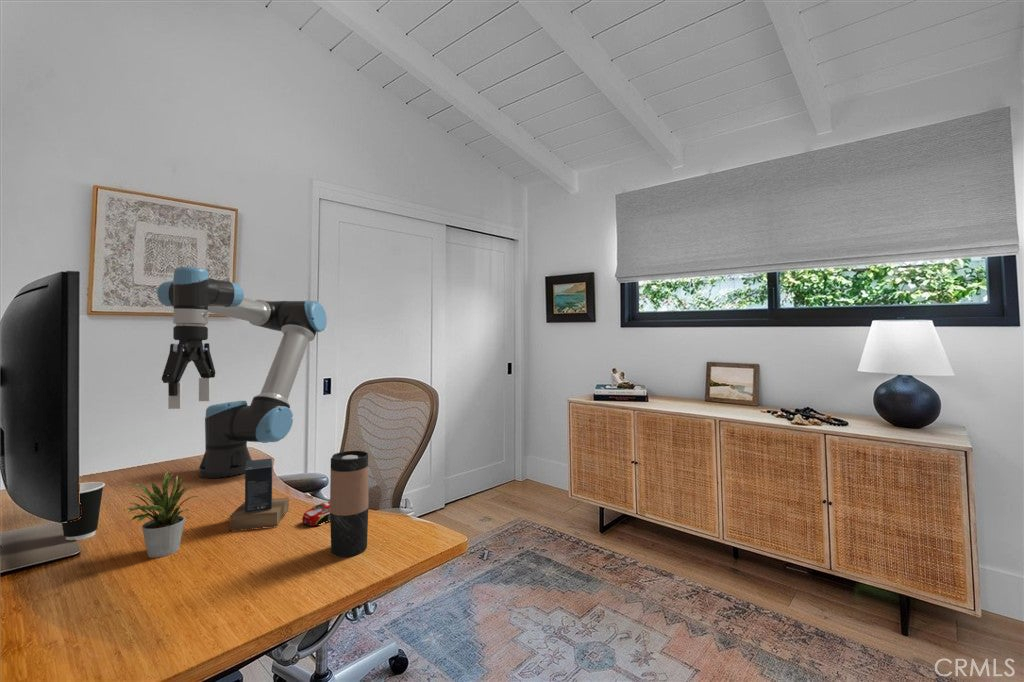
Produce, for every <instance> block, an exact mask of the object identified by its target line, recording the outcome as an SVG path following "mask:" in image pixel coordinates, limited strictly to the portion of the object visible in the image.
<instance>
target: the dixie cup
mask: <svg viewBox="0 0 1024 682" xmlns="http://www.w3.org/2000/svg"><path fill="white" fill-rule="evenodd" d="M79 484H80V492H79V493H80V503H81V506H82V515H81V518H80V519H79V520H76V521H72V522H67V523H62V522H61V526H62V533H63V536H64V538H65V537H74V538H75V539H76V540H77V541H82V540H85V539H88V538H91V537H93V536H94V535H96V532H97V530H98V525H99V518H100V511H101V503H102V496H103V489H104V487H105V485H106V483H104V482H101V481H90V482H81V483H79Z"/></svg>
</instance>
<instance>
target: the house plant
mask: <svg viewBox="0 0 1024 682" xmlns="http://www.w3.org/2000/svg"><path fill="white" fill-rule="evenodd" d="M173 475H174V473H172V474H170V475H169V472H168V471H166V472H165V474H164V476H163V480H162V484H161V485H162V487H161V489H160V488H159V487H158V485H157V484H156V483H155V482H154V481H152V482H151V486H152V487H151V488H152V492H151V491H150V490H149V489H148V488H147V487H145V486H143V485H142V484H139V483H137V482H136V483H135V482H131V484H133V485H136V486H137V487H139V488H140V489H141V490H142V491H143V492H144V494H146V496H147V497H146V496H144V495H142V494H139V493H135V492H132V495H133V494H136V495H135V497H136V498H137V499H138V498H139V499H140V500H141V501H143V502H144V503H145V504H144V505H141V504H138V503H136V502H135V503H134V502H130V504H131V505H134V506H131V507H129V508H126V509H124V510H128V512H127V515H129V514H130V515H131V512H132V511H136V510H141V512H143V513H144V514H143V513H140V512H138V514H136V515H135V516H133V517H132V518H131V519H130V521H129V522H130V523H131V522H132V521H134V520H136V519H138V520H137V523H136V524H138V523H140V522H141V521H143V520H144V519H146V518H147V519H149V521H147V522H145V523H144V524H142V526H141V529H142V535H143V538H144V543H145V548H146V552H147V556H148V557H149V558H152V559H153V558H154V559H157V558H163V557H167V556H170V555H172V554H175V553H176V552H178V551H179V550H180V545H181V540H182V535H183V531H184V525H185V521H186V518H185V516H183V515H180V514H182V513H183V512H185V511H186V512H187V513H189V508H187V509H184V510H180V509H181V505H183V503H186V501H188V500H189V499H192V498H195V497H199V496H198V495H193V496H192V495H191V496H190V497H187V498H185V499H184V500H183V501H181V503H180V504H179V505H178V503H179V500H181V498H182V496H183V495H184V494H185V493H186V491H187V490H188V489H189V488H190V487H191V486H192V485H193V484H194V482H192V483H190V485H189V486H186V487H184V488H183V489H182V490H181V487H182V482H183V477H181V478H180V480H178V478H179V476H178V475H176V476H175V480H174V482H173V485H172V486H173V487H172V489H171V492H170V495H169V493H168V491H169V483H170V480H171V479H172V477H173ZM178 481H179V482H178ZM123 483H125V484H126V482H123ZM127 484H130V482H127ZM123 494H124V495H125V494H126V492H122V493H119V495H123ZM138 495H139V496H138ZM126 497H128V495H127V496H125V498H126ZM142 497H144V498H145V499H146V500H148V501H150V502H151V503H152V504H149V503H148V502H147V501H146V500H145V499H144V498H142ZM148 497H149V498H148ZM148 511H149V512H148ZM157 512H158V513H157Z"/></svg>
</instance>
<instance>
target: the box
mask: <svg viewBox="0 0 1024 682" xmlns="http://www.w3.org/2000/svg"><path fill="white" fill-rule="evenodd" d="M272 499H273V458H262V459H252V460H250V461H247V465H246V469H245V473H244V502H245V513H252V512H259V511H265V510H271V509H272Z"/></svg>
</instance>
